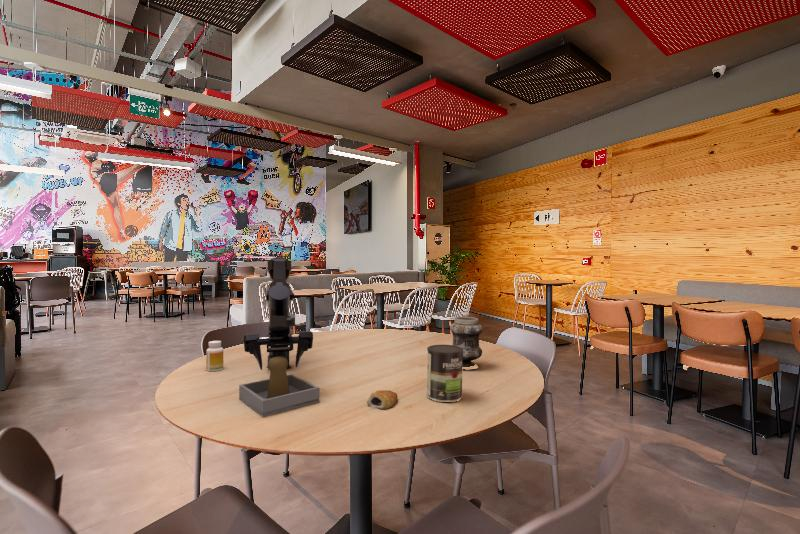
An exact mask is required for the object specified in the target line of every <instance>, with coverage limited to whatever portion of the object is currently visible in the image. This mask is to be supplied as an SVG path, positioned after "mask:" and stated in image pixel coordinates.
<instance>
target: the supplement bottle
mask: <svg viewBox="0 0 800 534" xmlns="http://www.w3.org/2000/svg"><path fill="white" fill-rule="evenodd" d="M205 355H206V359H205V360H206V371H208V372H218V371H221V370H224V347H222V340H212V341H211V340H210V341H208V348H207V349H206V354H205Z"/></svg>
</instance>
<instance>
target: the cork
mask: <svg viewBox="0 0 800 534" xmlns="http://www.w3.org/2000/svg"><path fill="white" fill-rule="evenodd" d="M287 365H288V360H287V359H286V358H285V357H280V356H279V357H273V358H271V359H270V360H269V363H268V362H267V366H269V368H268V369H269V370H270V371H269V372H270V373H269V378H268V379H269V386H268V395H267V399H269V398H273V397H277V396H282V395H286V394H290V393H289V387H288V380H287V375H288V374H287V369H288V368H287ZM286 368H287V369H286Z"/></svg>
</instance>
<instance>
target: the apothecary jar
mask: <svg viewBox="0 0 800 534" xmlns="http://www.w3.org/2000/svg"><path fill="white" fill-rule="evenodd" d="M483 329H484V328H483V326H482V325H481V324H480V322H479V318H477V317H472V316H455V317H454V322H453V323H451V325H450V327H449V330H450V332H451V333H452V345H454V346H458V347H461V348H463V364H462V367H470V366H474V365H475V364H476V363H475V362H473V361H476V360H478V359H480V357H482V355H483V349H482V348H481V347H480V335H481V334H482V333H483Z"/></svg>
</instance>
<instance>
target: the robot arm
mask: <svg viewBox="0 0 800 534" xmlns="http://www.w3.org/2000/svg"><path fill="white" fill-rule="evenodd" d="M266 267H267V270H266V271H267V273H269V279H270V280H271V282H270V283H269V285H268V286H269V287H268V289H267V290H266V293H265V298H266V299H265V301H266V302H268V305H269V315H268V317H269V320H268V321H269V322H268V332H267V333H268V334H266V337H260V333H259V332H256V333H255V332H254V333H245V334H244V336H243V347H244V352H245V353H248V354H250V355H253V356H254V357H255V359H256V362H257V363H258V367H259V369H260V370H261V371H262V370H263V358H262V350H261V346H266V353H268V355H267V364H268V363H269V360H270V359H271V358H273V357H279V356H280V357H285V358H286V359H287V360H288V365H287V368H286V370H287V369H291V368H292V366H291V365H290V352H292V351H294V345H297V348H296V356H295V368H298V366H299V364H300V361H301V358H302V356H303V354H304V353H305V352H308V350H311V349H312V348H313V344H314V334H313V331H311V330H302V331H298V336H293V335H292V333H291V327H296V314H295V313H290V303H291V302H293V299H295V293H294V292H293V290H292V289H291V287H290V286H291V285H290V283H289V282H288V281H289V279H290V273H292V261H291V260H289V259H288V258H286V257H273V258H272V259H270V260H267V266H266ZM266 367H267V368H268V369H269V366H268V365H266Z"/></svg>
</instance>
